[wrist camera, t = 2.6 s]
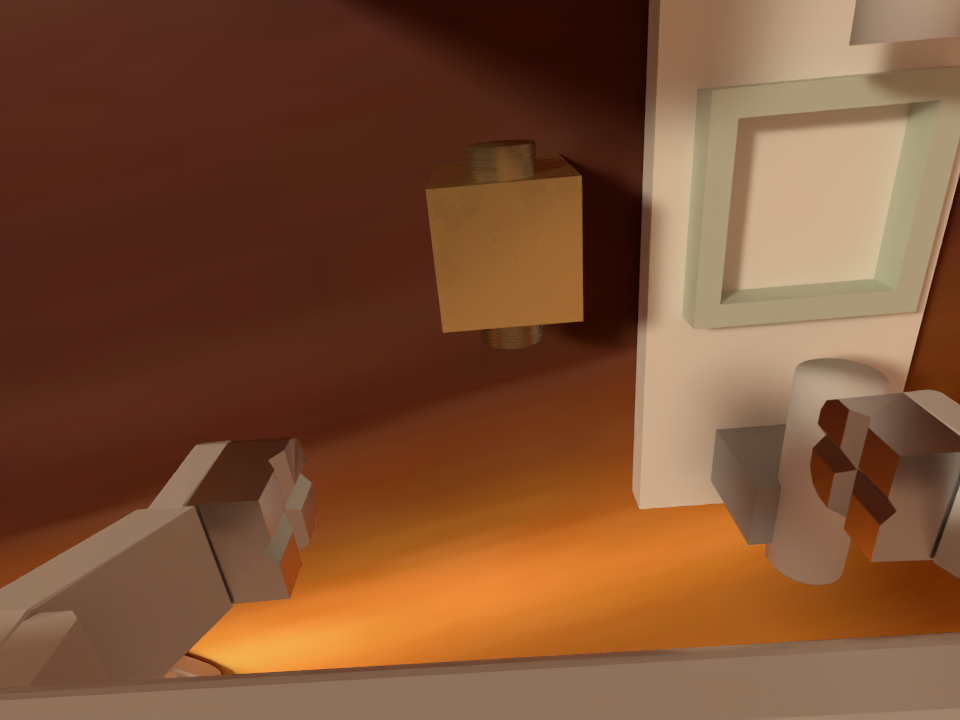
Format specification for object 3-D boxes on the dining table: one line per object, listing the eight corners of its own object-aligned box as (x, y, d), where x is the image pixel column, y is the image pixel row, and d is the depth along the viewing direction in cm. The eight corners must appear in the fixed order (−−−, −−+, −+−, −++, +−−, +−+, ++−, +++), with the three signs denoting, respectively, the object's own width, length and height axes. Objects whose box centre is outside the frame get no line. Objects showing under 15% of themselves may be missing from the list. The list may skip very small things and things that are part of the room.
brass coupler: (561, 291, 27) (583, 346, 21) (451, 300, 27) (445, 357, 22) (556, 126, 24) (581, 142, 18) (433, 137, 24) (421, 156, 19)
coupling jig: (859, 473, 31) (966, 583, 25) (632, 490, 32) (675, 603, 25) (1048, -316, 18) (1385, -545, 12) (658, -274, 19) (763, -472, 12)
